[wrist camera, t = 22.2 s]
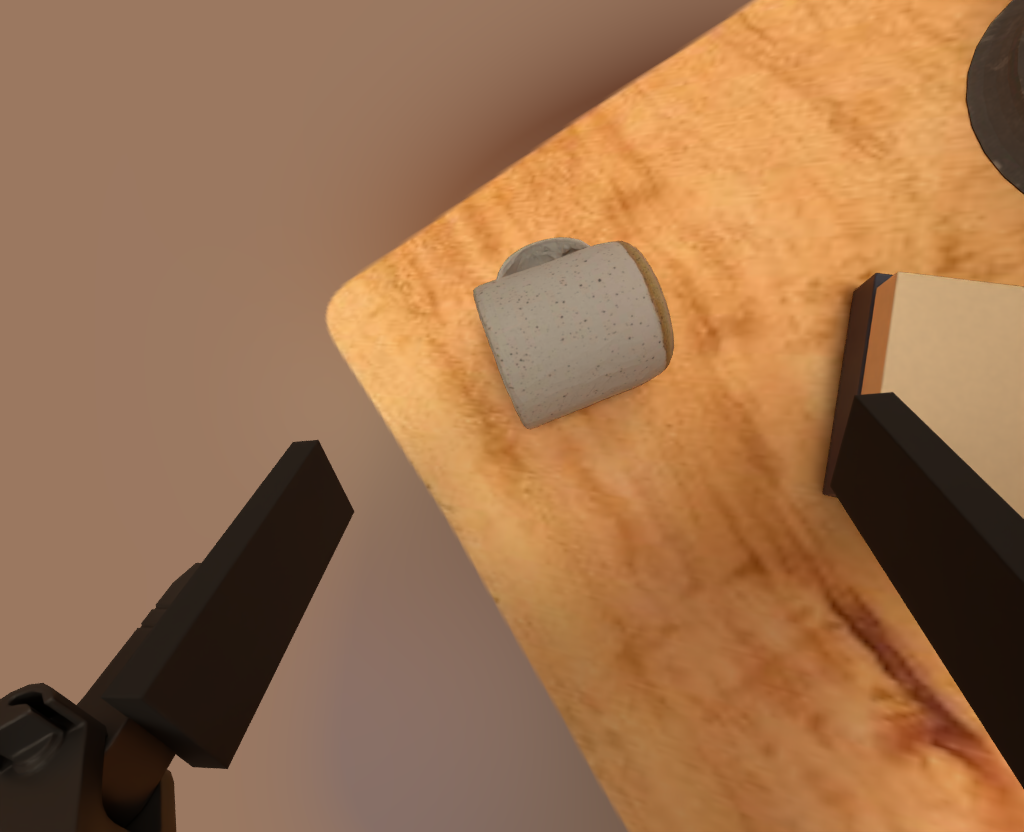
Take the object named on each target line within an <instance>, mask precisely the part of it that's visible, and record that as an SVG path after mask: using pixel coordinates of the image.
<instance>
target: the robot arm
mask: <svg viewBox="0 0 1024 832" xmlns="http://www.w3.org/2000/svg"><path fill="white" fill-rule="evenodd" d="M830 487H831V488H832V490H833V492H834V493H835V495H836V496H837V498H838V499H839V501H840V503H841V504H842V506H843V507H844V509H845V510H846V512H847V514H848V515H849V517H850V518H851V520H852V521H853V523H854V524H855V526H856V528H857V529H858V531H859V532H860V534H861V535H862V537H863V539H864V540H865V542H866V543H867V545H868V546H869V548H870V549H871V551H872V553H873V554H874V556H875V557H876V559H877V560H878V562H879V564H880V565H881V567H882V568H883V570H884V571H885V573H886V574H887V576H888V578H889V579H890V581H891V582H892V584H893V585H894V587H895V589H896V590H897V592H898V593H899V595H900V596H901V598H902V599H903V601H904V603H905V604H906V606H907V607H908V609H909V610H910V612H911V614H912V615H913V617H914V618H915V620H916V621H917V623H918V624H919V626H920V628H921V629H922V631H923V632H924V634H925V635H926V637H927V639H928V640H929V642H930V643H931V645H932V646H933V648H934V649H935V651H936V653H937V654H938V656H939V657H940V659H941V660H942V662H943V664H944V665H945V667H946V668H947V670H948V671H949V673H950V675H951V676H952V678H953V679H954V681H955V682H956V684H957V685H958V687H959V689H960V690H961V692H962V693H963V695H964V696H965V698H966V700H967V701H968V703H969V704H970V706H971V707H972V709H973V710H974V712H975V714H976V715H977V717H978V718H979V720H980V721H981V723H982V725H983V726H984V728H985V729H986V731H987V732H988V734H989V735H990V737H991V739H992V740H993V742H994V743H995V745H996V746H997V748H998V750H999V751H1000V753H1001V754H1002V756H1003V757H1004V759H1005V760H1006V762H1007V764H1008V765H1009V767H1010V768H1011V770H1012V771H1013V773H1014V775H1015V776H1016V778H1017V779H1018V781H1019V782H1020V784H1021V785H1022V787H1023V789H1024V519H1023V518H1022V517H1021V516H1020V515H1019V514H1018V513H1017V512H1016V511H1015V510H1014V509H1013V508H1012V507H1011V506H1010V505H1009V504H1008V503H1007V502H1006V501H1005V500H1004V499H1003V498H1002V497H1001V496H1000V495H999V494H998V493H997V492H996V491H995V490H993V489H992V488H991V487H990V486H989V485H988V484H987V483H986V482H985V481H984V480H983V479H982V478H981V477H980V476H979V475H978V474H977V473H976V472H975V471H974V470H973V469H972V468H971V467H970V466H969V465H968V464H967V463H966V462H965V461H964V460H963V459H962V458H960V457H959V456H958V455H957V454H956V453H955V452H954V451H953V450H952V449H951V448H950V447H949V446H948V445H947V444H946V443H945V442H944V441H943V440H942V439H941V438H940V437H939V436H938V435H937V434H936V433H935V432H934V431H933V430H932V429H931V428H930V427H929V426H928V425H926V424H925V423H924V422H923V421H922V420H921V419H920V418H919V417H918V416H917V415H916V414H915V413H914V412H913V411H912V410H911V409H910V408H909V407H908V406H907V405H906V404H905V403H904V402H903V401H902V400H901V399H900V398H899V397H898V396H897V395H896V394H895V393H893V392H887V393H875V394H863V395H854V399H853V402H852V406H851V410H850V414H849V417H848V421H847V425H846V428H845V432H844V436H843V439H842V443H841V447H840V450H839V454H838V458H837V461H836V465H835V469H834V472H833V476H832V480H831V483H830ZM353 513H354V510H353V508H352V506H351V504H350V502H349V500H348V498H347V496H346V494H345V492H344V490H343V488H342V486H341V484H340V482H339V480H338V478H337V476H336V474H335V472H334V470H333V468H332V466H331V464H330V462H329V460H328V458H327V456H326V454H325V452H324V450H323V448H322V447H321V444H320V442H319V441H318V440H313V441H302V442H293V443H292V444H291V445H290V447H289V448H288V449H287V451H286V452H285V453H284V455H283V456H282V457H281V459H280V460H279V461H278V463H277V464H276V465H275V467H274V468H273V469H272V471H271V472H270V473H269V475H268V476H267V477H266V479H265V480H264V481H263V482H262V484H261V485H260V486H259V488H258V489H257V490H256V492H255V493H254V495H253V496H252V497H251V498H250V500H249V501H248V502H247V504H246V505H245V506H244V508H243V509H242V510H241V512H240V513H239V514H238V516H237V517H236V518H235V520H234V521H233V522H232V524H231V525H230V526H229V528H228V529H227V530H226V532H225V533H224V534H223V536H222V537H221V538H220V540H219V541H218V542H217V543H216V545H215V546H214V548H213V549H212V550H211V552H210V553H209V554H208V555H207V557H206V558H205V560H204V561H203V562H202V563H196V564H194V565H193V566H192V567H191V568H190V569H189V570H187V571H186V572H185V573H184V574H183V575H182V576H180V577H179V578H178V579H177V580H176V581H175V582H173V583H172V585H171V586H170V587H169V589H168V590H167V591H166V592H165V594H164V595H163V596H162V598H161V599H160V600H159V601H158V603H157V604H156V608H155V609H152V610H151V612H150V613H149V614H148V616H147V617H146V618H145V619H144V621H143V622H142V623H141V624H142V626H141V628H137V630H136V631H135V632H134V633H133V635H132V636H131V637H130V639H129V640H128V641H127V642H126V644H125V645H124V646H123V647H122V649H121V650H120V651H119V653H118V654H117V655H116V656H115V658H114V659H113V660H112V662H111V663H110V664H109V665H108V667H107V668H106V669H105V671H104V672H103V673H102V674H101V676H100V677H99V678H98V679H97V681H96V682H95V683H94V685H93V686H92V687H91V688H90V690H89V691H88V692H87V694H86V695H85V696H84V697H83V699H82V700H81V701H80V702H79V703H78V704H77V705H75V704H74V703H72V702H71V701H70V700H68V699H67V698H65V697H64V696H63V695H61V694H60V693H58V692H57V691H55V690H54V689H53V688H51V687H49V686H48V685H45V684H44V683H40V684H31V685H27V686H25V687H22V688H20V689H18V690H16V691H13V692H11V693H9V694H8V695H6V696H5V697H3V698H2V699H0V832H176V817H175V796H174V781H173V778H172V775H171V772H170V771H169V770H167V768H168V766H169V764H170V763H171V761H172V759H173V758H174V756H175V754H176V755H178V756H179V757H180V758H181V759H183V760H184V761H186V762H187V763H189V765H191V766H192V767H202V768H222V769H228V767H229V765H230V763H231V761H232V759H233V757H234V755H235V753H236V751H237V749H238V747H239V745H240V742H241V741H242V738H243V737H244V734H245V732H246V731H247V728H248V726H249V724H250V722H251V720H252V718H253V716H254V714H255V712H256V710H257V708H258V706H259V704H260V702H261V700H262V698H263V696H264V694H265V692H266V690H267V688H268V686H269V684H270V682H271V680H272V678H273V676H274V674H275V672H276V670H277V667H278V666H279V663H280V661H281V659H282V657H283V655H284V653H285V651H286V649H287V647H288V645H289V643H290V641H291V639H292V637H293V635H294V633H295V631H296V629H297V627H298V625H299V623H300V621H301V619H302V617H303V615H304V612H305V611H306V609H307V606H308V604H309V602H310V600H311V598H312V596H313V594H314V592H315V590H316V588H317V586H318V584H319V582H320V580H321V578H322V576H323V574H324V572H325V570H326V568H327V566H328V564H329V562H330V560H331V558H332V556H333V554H334V552H335V550H336V548H337V546H338V544H339V542H340V539H341V537H342V536H343V533H344V531H345V529H346V527H347V525H348V523H349V521H350V519H351V517H352V515H353Z"/></svg>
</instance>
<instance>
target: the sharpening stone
mask: <svg viewBox="0 0 1024 832" xmlns="http://www.w3.org/2000/svg"><path fill="white" fill-rule="evenodd" d="M887 392H893V393H895V394H896V395H897V396H898V397H899V398H900V399H901V400H902V401H903V402H904V403H905V404H906V405H907V406H908V407H909V408H910V409H911V410H912V411H913V412H914V413H915V414H916V415H917V416H918V417H919V418H920V419H921V420H922V421H923V422H924V423H925V424H926V425H928V426H929V427H930V428H931V429H932V430H933V431H934V432H935V433H936V434H937V435H938V436H939V437H940V438H941V439H942V440H943V441H944V442H945V443H946V444H947V445H948V446H949V447H950V448H951V449H952V450H953V451H954V452H955V453H956V454H957V455H958V456H959V457H960V458H962V459H963V460H964V461H965V462H966V463H967V464H968V465H969V466H970V467H971V468H972V469H973V470H974V471H975V472H976V473H977V474H978V475H979V476H980V477H981V478H982V479H983V480H984V481H985V482H986V483H987V484H988V485H989V486H990V487H991V488H992V489H993V490H995V491H996V492H997V493H998V494H999V495H1000V496H1001V497H1002V498H1003V499H1004V500H1005V501H1006V502H1007V503H1008V504H1009V505H1010V506H1011V507H1012V508H1013V509H1014V510H1015V511H1016V512H1017V513H1018V514H1019V515H1020V516H1021V517H1022V518H1023V519H1024V287H1022V286H1014V285H1006V284H997V283H989V282H981V281H972V280H964V279H956V278H948V277H939V276H931V275H923V274H914V273H906V272H897V273H896V274H894V275H889V274H881V273H875V274H874V275H873V276H872V277H871V278H869V279H868V280H867V281H866V282H865V283H863V284H862V285H861V286H860V287H859V288H857V289H856V290H855V291H854V293H853V300H852V306H851V313H850V319H849V326H848V332H847V339H846V345H845V352H844V358H843V365H842V371H841V377H840V384H839V390H838V397H837V403H836V410H835V416H834V423H833V429H832V436H831V442H830V449H829V455H828V462H827V468H826V475H825V481H824V488H823V494H824V495H828V496H832V497H837V496H836V495H835V493H834V492H833V490H832V488H831V487H830V483H831V480H832V476H833V472H834V469H835V465H836V461H837V458H838V454H839V450H840V447H841V443H842V439H843V436H844V432H845V428H846V425H847V421H848V417H849V414H850V410H851V406H852V402H853V399H854V395H863V394H875V393H887Z"/></svg>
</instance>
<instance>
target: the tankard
mask: <svg viewBox="0 0 1024 832" xmlns="http://www.w3.org/2000/svg"><path fill="white" fill-rule="evenodd" d="M967 103H968V108H969V113H970V118H971V123H972V127H973V129H974V131H975V133H976V135H977V137H978V139H979V141H980V143H981V146H982V148H983V150H984V152H985V153H986V155H987V156H988V157H989V158H990V160H991V161H992V162H993V163H994V165H995V166H996V167H997V168H998V170H999V171H1000V172H1001V173H1002V175H1003V176H1004V177H1005V178H1006V179H1008V180H1009V181H1010V182H1011V183H1012V184H1014V185H1015V186H1016V187H1017V188H1018V189H1020V190H1021V191H1022V192H1023V193H1024V0H1013V1H1011V2H1010V4H1009V5H1008V6H1007V7H1006V8H1005V9H1004V10H1003V11H1002V12H1001V13H1000V14H999V15H998V16H997V17H996V18H995V19H994V21H993V22H992V23H991V24H990V26H989V27H988V29H987V31H986V32H985V34H984V36H983V37H982V39H981V41H980V42H979V44H978V46H977V47H976V50H975V54H974V57H973V60H972V63H971V66H970V69H969V72H968V87H967Z"/></svg>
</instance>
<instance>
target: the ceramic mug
mask: <svg viewBox="0 0 1024 832" xmlns="http://www.w3.org/2000/svg"><path fill="white" fill-rule="evenodd" d="M473 293H474V294H473V295H474V300H475V303H476V307H477V310H478V313H479V317H480V320H481V322H482V325H483V328H484V330H485V333H486V336H487V338H488V341H489V345H490V347H491V349H492V352H493V354H494V357H495V360H496V363H497V366H498V369H499V371H500V374H501V377H502V380H503V382H504V385H505V387H506V389H507V392H508V394H509V396H510V397H511V399H512V402H513V405H514V407H515V410H516V412H517V414H518V416H519V417H520V419H521V422H522V423H523V425H524V426H525V427H526V428H527V429H532V428H535V427H538V426H540V425H543V424H545V423H547V422H550V421H552V420H554V419H557V418H559V417H562V416H564V415H567V414H570V413H572V412H575V411H577V410H580V409H582V408H585V407H587V406H590V405H592V404H594V403H597V402H599V401H601V400H604V399H606V398H609V397H611V396H614V395H617V394H619V393H622V392H625V391H627V390H630V389H632V388H635V387H637V386H639V385H642V384H643V383H645V382H647V381H649V380H650V379H652V378H654V377H655V376H657V375H659V374H660V373H662V372H663V371H664V370H665V369H666V368H667V366H668V365H669V363H670V360H671V358H672V355H673V349H674V338H673V329H672V323H671V319H670V314H669V310H668V307H667V303H666V300H665V297H664V295H663V292H662V289H661V287H660V284H659V282H658V280H657V277H656V276H655V274H654V272H653V270H652V268H651V267H650V265H649V264H648V262H647V261H646V259H645V258H644V256H643V255H642V253H641V252H640V251H639V250H638V249H637V248H635V247H633V246H632V245H630V244H629V243H626V242H623V241H616V242H608V243H602V244H597V245H594V246H590V245H588V244H586V243H584V242H583V241H581V240H578V239H573V238H562V237H559V238H551V239H546V240H542V241H538V242H535V243H532V244H529V245H527V246H525V247H523V248H521V249H520V250H518V251H516V252H515V253H514V254H512V255H511V256H510V257H509V258H508V259H507V260H506V261H505V262H504V263H503V265H502V267H501V269H500V271H499V273H498V276H497V279H496V280H494V281H491V282H488V283H485V284H483V285H480V286H478V287H476V288H475V289H474V291H473Z"/></svg>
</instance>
